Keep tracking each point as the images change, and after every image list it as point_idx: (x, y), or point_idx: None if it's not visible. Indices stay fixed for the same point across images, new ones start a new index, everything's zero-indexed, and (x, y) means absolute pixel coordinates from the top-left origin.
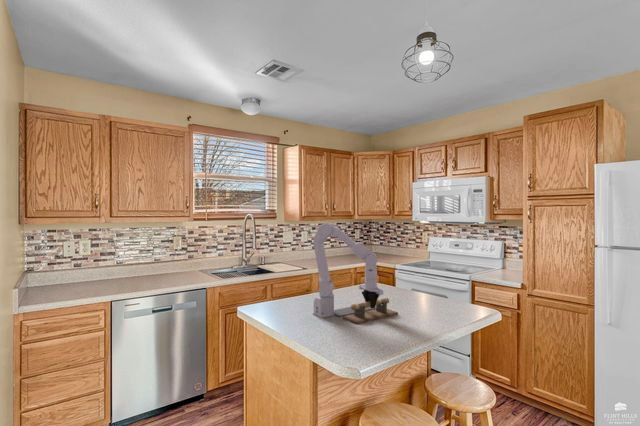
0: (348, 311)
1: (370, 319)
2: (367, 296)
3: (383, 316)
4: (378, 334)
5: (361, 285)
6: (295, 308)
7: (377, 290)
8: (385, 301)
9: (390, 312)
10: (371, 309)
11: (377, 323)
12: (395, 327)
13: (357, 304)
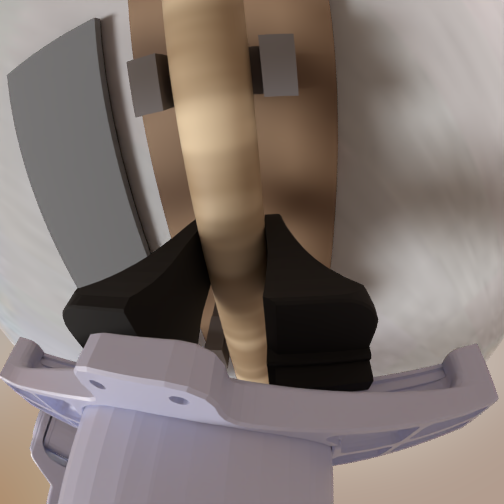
0: (118, 269)
1: (329, 263)
2: (188, 332)
3: (336, 139)
4: (445, 316)
5: (30, 397)
6: (59, 352)
7: (418, 441)
8: (283, 51)
9: (290, 17)
10: (106, 97)
11: (378, 243)
12: (473, 210)
13: (262, 382)
